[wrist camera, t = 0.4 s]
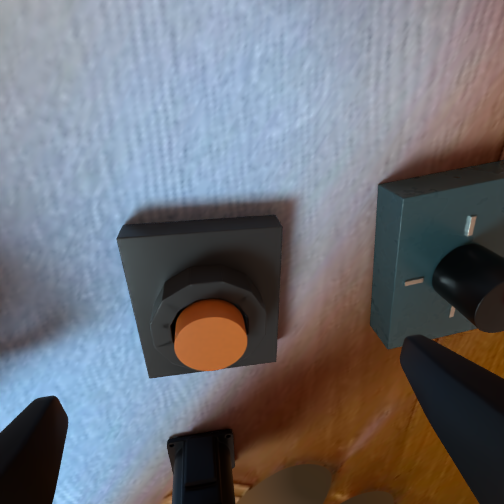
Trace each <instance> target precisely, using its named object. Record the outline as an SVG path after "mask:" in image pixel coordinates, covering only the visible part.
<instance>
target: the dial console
mask: <svg viewBox="0 0 504 504" xmlns="http://www.w3.org/2000/svg"><path fill="white" fill-rule="evenodd" d="M468 244H479V245H482V246H484V247H486V248H487V249H489V250H491V251H493V252H494V253H496V254H498V255H500V256H501V257H503V258H504V160H502V161H496V162H491V163H486V164H481V165H476V166H471V167H466V168H461V169H456V170H451V171H446V172H440V173H435V174H430V175H425V176H420V177H415V178H410V179H405V180H400V181H395V182H390V183H384V184H379V185H378V199H377V216H376V232H375V249H374V266H373V283H372V300H371V317H370V326H371V327H372V328H373V330H374V331H375V332H376V334H377V335H378V337H379V338H380V339H381V341H382V342H383V344H384V345H385V346H386V348H387V349H392V348H396V347H401V346H403V342H404V339H405V338H406V337H407V336H411V335H418V334H420V335H423V336H425V337H427V338H429V339H434V338H439V337H443V336H447V335H451V334H456V333H460V332H464V331H468V330H473V329H477V327H476V326H475V325H473V324H472V323H471V322H470V321H469V320H468V319H467V318H465V317H464V316H463V315H462V314H461V313H460V312H459V311H457V310H456V309H455V308H454V307H453V306H452V305H450V304H449V303H448V302H447V301H446V300H445V299H444V298H442V297H441V296H440V295H439V294H438V293H437V292H436V291H435V290H434V288H433V285H432V277H433V273H434V271H435V269H436V267H437V265H438V264H439V262H440V261H441V260H442V259H443V258H444V257H445V256H446V255H447V254H449V253H450V252H451V251H453V250H455V249H456V248H458V247H461V246H464V245H468Z"/></svg>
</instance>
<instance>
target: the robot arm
mask: <svg viewBox="0 0 504 504" xmlns="http://www.w3.org/2000/svg"><path fill="white" fill-rule="evenodd" d="M400 363H401V366H402V368H403V370H404V372H405V374H406V377H407V379H408V381H409V383H410V385H411V387H412V389H413V391H414V393H415V395H416V397H417V399H418V401H419V403H420V405H421V407H422V409H423V411H424V413H425V415H426V417H427V419H428V420H429V422H430V424H431V426H432V427H433V429H434V431H435V432H436V434H437V435H438V437H439V439H440V440H441V442H442V444H443V445H444V447H445V448H446V450H447V452H448V453H449V455H450V457H451V458H452V460H453V461H454V463H455V465H456V466H457V468H458V470H459V471H460V473H461V474H462V476H463V478H464V479H465V481H466V483H467V484H468V486H469V487H470V489H471V491H472V492H473V494H474V495H475V497H476V499H477V500H478V502H479V504H504V379H503V378H501V377H499V376H498V375H496V374H494V373H492V372H490V371H488V370H487V369H485V368H483V367H481V366H479V365H477V364H475V363H474V362H472V361H470V360H468V359H466V358H464V357H462V356H461V355H459V354H457V353H455V352H453V351H451V350H449V349H448V348H446V347H444V346H442V345H440V344H438V343H437V342H435V341H433V340H431V339H429V338H427V337H425V336H423V335H420V334H418V335H411V336H407V337H406V338H405V339H404V342H403V346H402V350H401V355H400ZM67 429H68V417H67V414H66V412H65V411H64V409H63V407H62V405H61V403H60V401H59V399H58V398H57V397H56V396H47V397H41V398H37V399H35V400H34V401H33V402H31V403H30V404H29V405H28V406H27V407H26V408H25V409H24V410H23V411H22V412H21V413H20V414H19V415H18V416H17V417H16V418H15V419H14V420H13V421H12V422H11V423H10V424H9V425H8V426H7V427H6V428H5V429H4V430H3V431H2V432H1V433H0V504H52V502H53V498H54V494H55V490H56V485H57V480H58V475H59V470H60V465H61V459H62V454H63V449H64V444H65V439H66V434H67ZM167 449H168V454H169V458H170V462H171V467H172V471H173V493H172V504H235V496H234V486H233V476H232V469H233V468H234V467H235V460H234V442H233V431H232V430H222V431H216V432H210V433H203V434H197V435H191V436H184V437H178V438H172V439H169V440H168V441H167Z"/></svg>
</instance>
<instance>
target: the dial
mask: <svg viewBox="0 0 504 504" xmlns="http://www.w3.org/2000/svg"><path fill="white" fill-rule="evenodd" d="M432 285H433V288H434V290H435V291H436V292H437V293H438V294H439V295H440V296H441V297H442V298H444V299H445V300H446V301H447V302H448V303H449V304H450V305H452V306H453V307H454V308H455V309H456V310H457V311H459V312H460V313H461V314H462V315H463V316H464V317H465V318H467V319H468V320H469V321H470V322H471V323H472V324H473V325H475V326H476V327H477V328H478V329H479V330H481V331H484V332H488V333H495V332H501V331H504V258H503V257H501V256H500V255H498V254H496V253H494V252H493V251H491V250H489V249H487V248H486V247H484V246H482V245H479V244H468V245H464V246H461V247H458V248H456V249H455V250H453V251H451V252H450V253H449V254H447V255H446V256H445V257H444V258H443V259H442V260H441V261H440V262H439V264H438V265H437V267H436V269H435V271H434V273H433V277H432Z"/></svg>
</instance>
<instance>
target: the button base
mask: <svg viewBox="0 0 504 504" xmlns="http://www.w3.org/2000/svg"><path fill="white" fill-rule="evenodd" d="M117 243H118V247H119V251H120V256H121V260H122V264H123V268H124V273H125V277H126V281H127V285H128V290H129V294H130V298H131V302H132V307H133V311H134V315H135V319H136V324H137V328H138V332H139V337H140V341H141V345H142V349H143V354H144V358H145V362H146V366H147V371H148V375H149V378H157V377H164V376H172V375H180V374H187V373H195V372H202V371H201V370H196V369H193V368H190V367H188V366H186V365H185V364H183V363H182V362H181V361H180V360H179V358H178V357H177V355H176V353H175V349H174V342H175V329H176V322H177V319H178V317H179V315H180V314H181V312H182V311H183V310H184V309H185V308H186V307H188V306H189V305H191V304H193V303H195V302H197V301H201V300H205V299H219V300H224V301H227V302H229V303H231V304H233V305H234V306H235V307H237V308H238V309H239V311H240V312H241V314H242V316H243V319H244V324H245V329H246V334H247V340H248V341H247V347H246V350H245V352H244V354H243V355H242V356H241V358H240V359H239V360H237V361H236V362H235V363H233V364H232V365H230V366H228V367H226V368H233V367H240V366H248V365H256V364H263V363H271V362H276V356H277V335H278V313H279V291H280V270H281V248H282V225H281V224H280V222H279V220H278V219H277V217H276V215H270V216H255V217H240V218H224V219H209V220H194V221H178V222H163V223H148V224H132V225H123V226H122V228H121V230H120V232H119V234H118V237H117ZM223 369H225V368H223Z"/></svg>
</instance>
